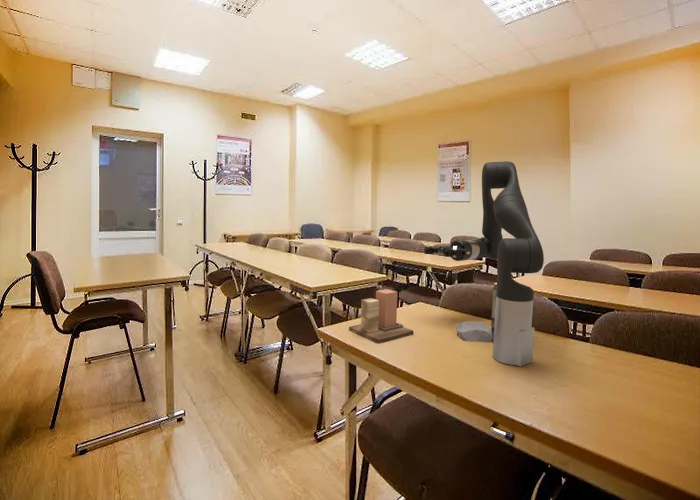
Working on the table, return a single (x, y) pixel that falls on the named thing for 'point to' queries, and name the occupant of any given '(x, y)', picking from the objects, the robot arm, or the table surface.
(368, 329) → the birch column
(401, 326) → the slot frame
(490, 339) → the stone block
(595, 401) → the table surface
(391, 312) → the terracotta pillar
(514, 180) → the robot arm
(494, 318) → the coffee box
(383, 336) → the brown board
